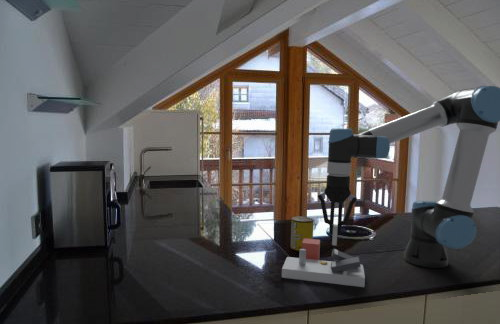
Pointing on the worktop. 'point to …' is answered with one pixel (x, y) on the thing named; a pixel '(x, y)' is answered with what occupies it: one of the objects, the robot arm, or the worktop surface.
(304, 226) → the beverage can
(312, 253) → the red rectangular block
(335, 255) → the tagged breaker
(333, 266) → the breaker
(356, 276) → the panel
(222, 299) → the worktop surface
